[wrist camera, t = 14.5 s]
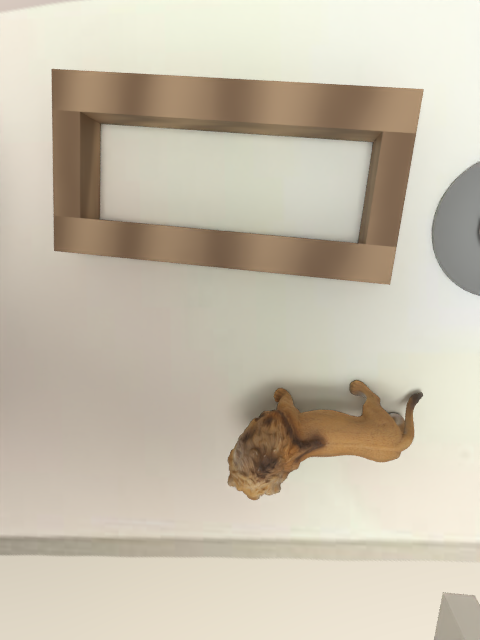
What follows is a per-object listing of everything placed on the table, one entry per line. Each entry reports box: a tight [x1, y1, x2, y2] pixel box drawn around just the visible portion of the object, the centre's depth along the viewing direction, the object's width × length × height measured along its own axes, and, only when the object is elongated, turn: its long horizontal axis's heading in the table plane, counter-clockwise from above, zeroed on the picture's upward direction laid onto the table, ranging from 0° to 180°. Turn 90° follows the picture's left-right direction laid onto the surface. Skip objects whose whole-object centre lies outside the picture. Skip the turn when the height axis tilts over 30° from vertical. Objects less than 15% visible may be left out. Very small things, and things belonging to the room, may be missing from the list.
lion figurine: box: [228, 380, 423, 500], centre depth 28 cm, size 15×5×9 cm, turn 105°
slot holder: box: [52, 69, 424, 285], centre depth 28 cm, size 24×12×3 cm, turn 85°
